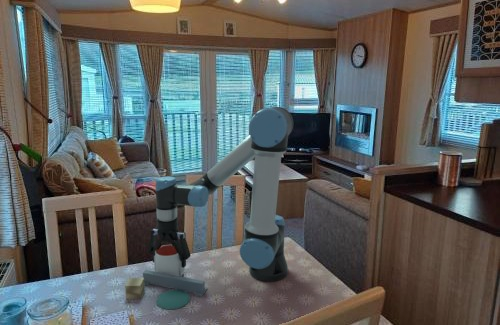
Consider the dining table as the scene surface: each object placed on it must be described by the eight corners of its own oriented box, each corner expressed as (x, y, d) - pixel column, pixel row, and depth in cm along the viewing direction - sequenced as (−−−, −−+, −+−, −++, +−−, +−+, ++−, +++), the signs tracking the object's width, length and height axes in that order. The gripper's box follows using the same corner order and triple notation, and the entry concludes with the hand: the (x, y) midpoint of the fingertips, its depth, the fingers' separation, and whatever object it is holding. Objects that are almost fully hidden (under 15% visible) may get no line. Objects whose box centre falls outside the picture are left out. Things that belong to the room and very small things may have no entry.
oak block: (144, 290, 123) (143, 277, 122) (140, 299, 118) (140, 285, 117) (130, 291, 122) (129, 278, 121) (126, 299, 117) (125, 286, 116)
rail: (207, 289, 124) (207, 278, 123) (201, 296, 119) (200, 286, 118) (148, 277, 131) (147, 268, 130) (140, 284, 126) (139, 274, 125)
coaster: (195, 293, 121) (195, 292, 121) (179, 312, 111) (179, 311, 110) (167, 288, 124) (167, 287, 124) (150, 305, 114) (150, 304, 114)
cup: (176, 282, 128) (175, 257, 126) (151, 279, 130) (150, 254, 128) (186, 269, 138) (185, 245, 136) (163, 266, 140) (162, 243, 138)
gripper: (199, 217, 129) (200, 272, 134) (147, 211, 136) (149, 263, 140) (189, 225, 122) (191, 282, 127) (135, 217, 129) (138, 272, 133)
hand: (169, 272), depth 134 cm, fingers closed on cup, 10 cm apart
